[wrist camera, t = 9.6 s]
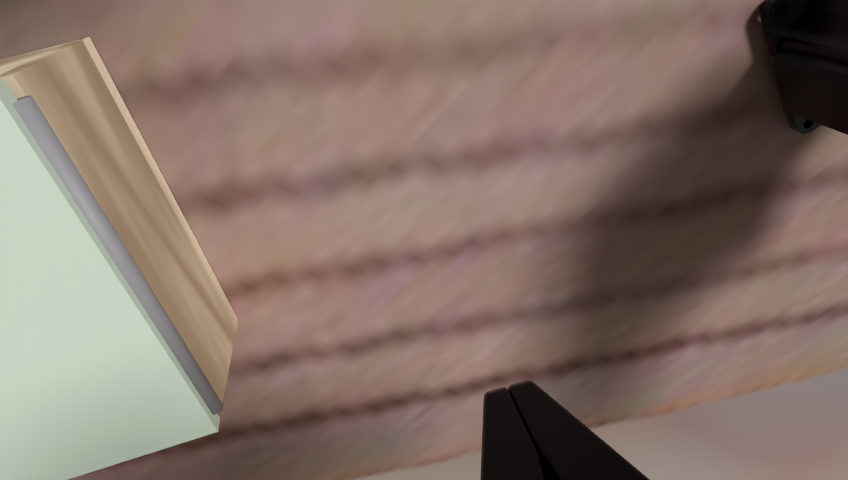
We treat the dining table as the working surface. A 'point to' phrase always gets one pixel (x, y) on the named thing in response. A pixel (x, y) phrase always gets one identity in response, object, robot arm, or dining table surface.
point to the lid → (79, 324)
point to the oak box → (129, 193)
